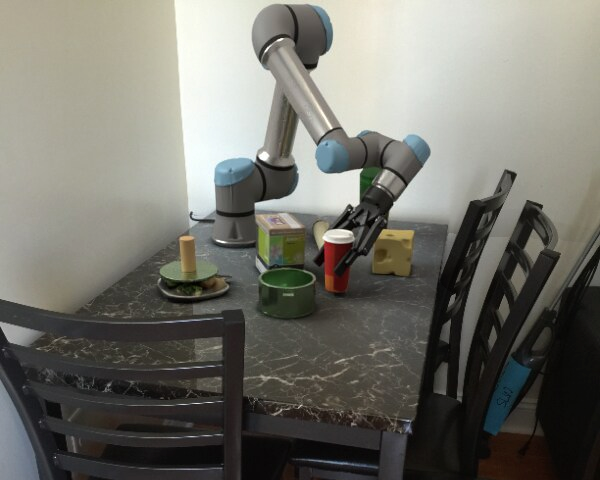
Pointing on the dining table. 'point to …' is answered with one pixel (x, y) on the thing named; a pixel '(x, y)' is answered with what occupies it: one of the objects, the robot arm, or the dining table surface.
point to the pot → (287, 293)
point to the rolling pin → (320, 232)
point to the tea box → (279, 242)
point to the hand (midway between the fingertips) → (326, 269)
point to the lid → (188, 265)
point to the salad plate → (193, 288)
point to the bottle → (369, 183)
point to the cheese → (393, 252)
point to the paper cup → (336, 258)
